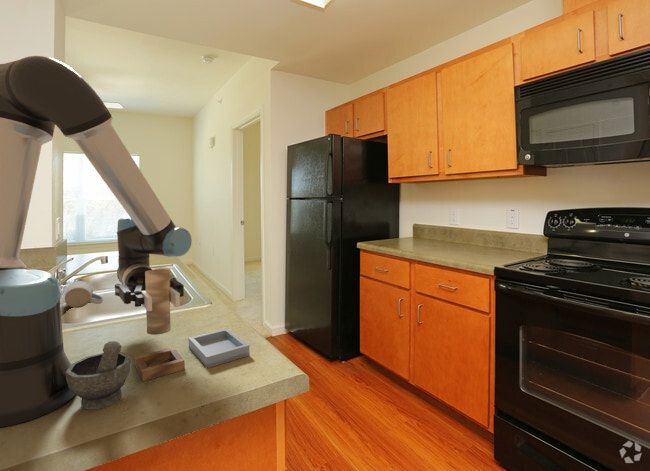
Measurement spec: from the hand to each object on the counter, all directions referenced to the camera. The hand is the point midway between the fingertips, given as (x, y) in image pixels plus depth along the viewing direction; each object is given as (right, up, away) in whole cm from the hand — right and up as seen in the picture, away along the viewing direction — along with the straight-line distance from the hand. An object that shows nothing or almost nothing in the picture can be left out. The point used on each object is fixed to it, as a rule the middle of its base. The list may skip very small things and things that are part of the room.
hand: (164, 302), depth 70 cm
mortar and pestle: (-8, -17, -7) cm, 20 cm away
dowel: (-3, -7, +5) cm, 9 cm away
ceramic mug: (-50, -10, +49) cm, 71 cm away
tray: (+7, -14, +13) cm, 21 cm away
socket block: (-4, -15, +6) cm, 17 cm away
